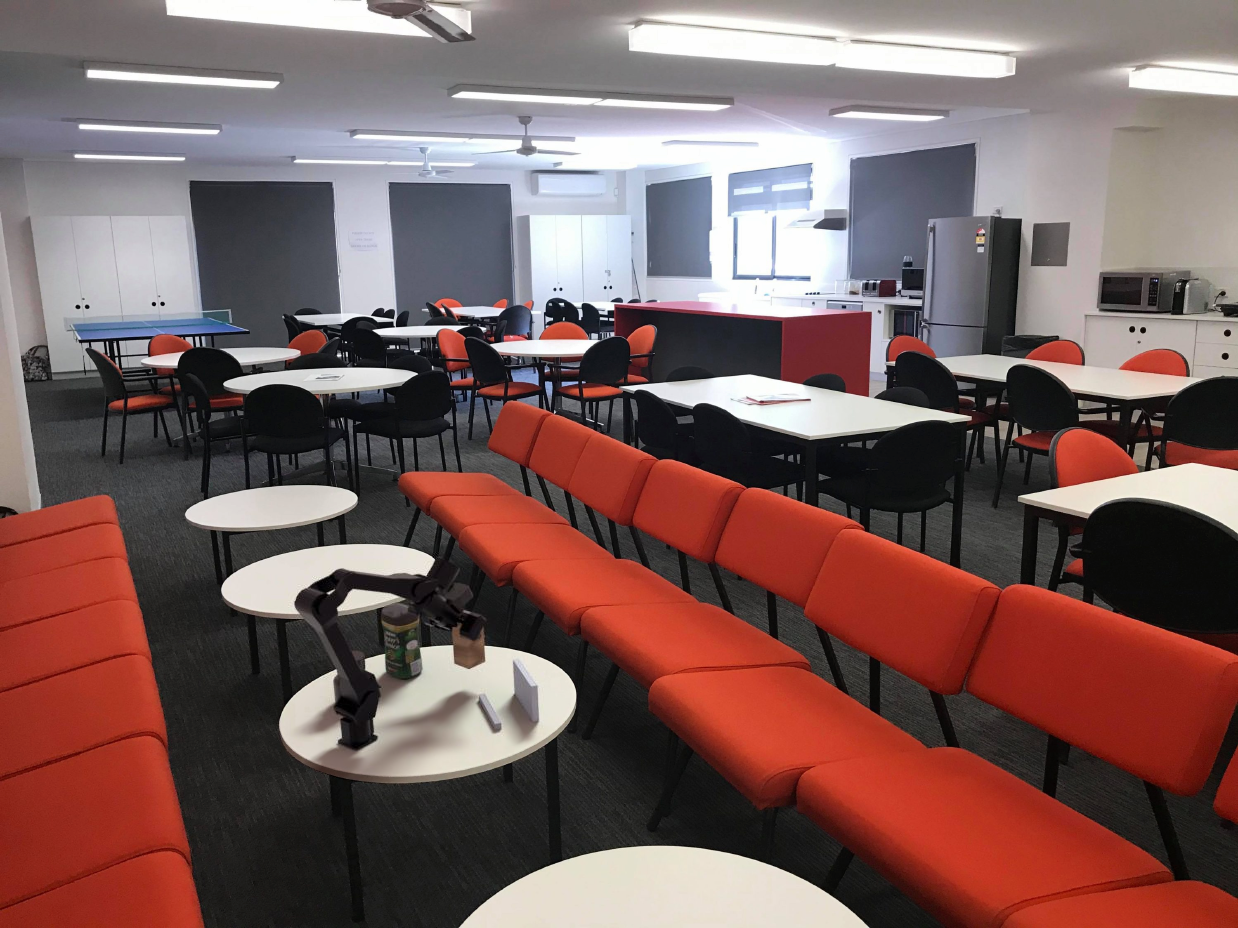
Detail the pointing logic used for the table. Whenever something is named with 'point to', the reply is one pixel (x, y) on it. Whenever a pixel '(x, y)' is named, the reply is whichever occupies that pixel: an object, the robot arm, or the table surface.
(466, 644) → the tan upright block
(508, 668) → the table surface
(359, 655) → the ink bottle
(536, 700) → the wall dock
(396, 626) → the coffee jar
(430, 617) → the robot arm
